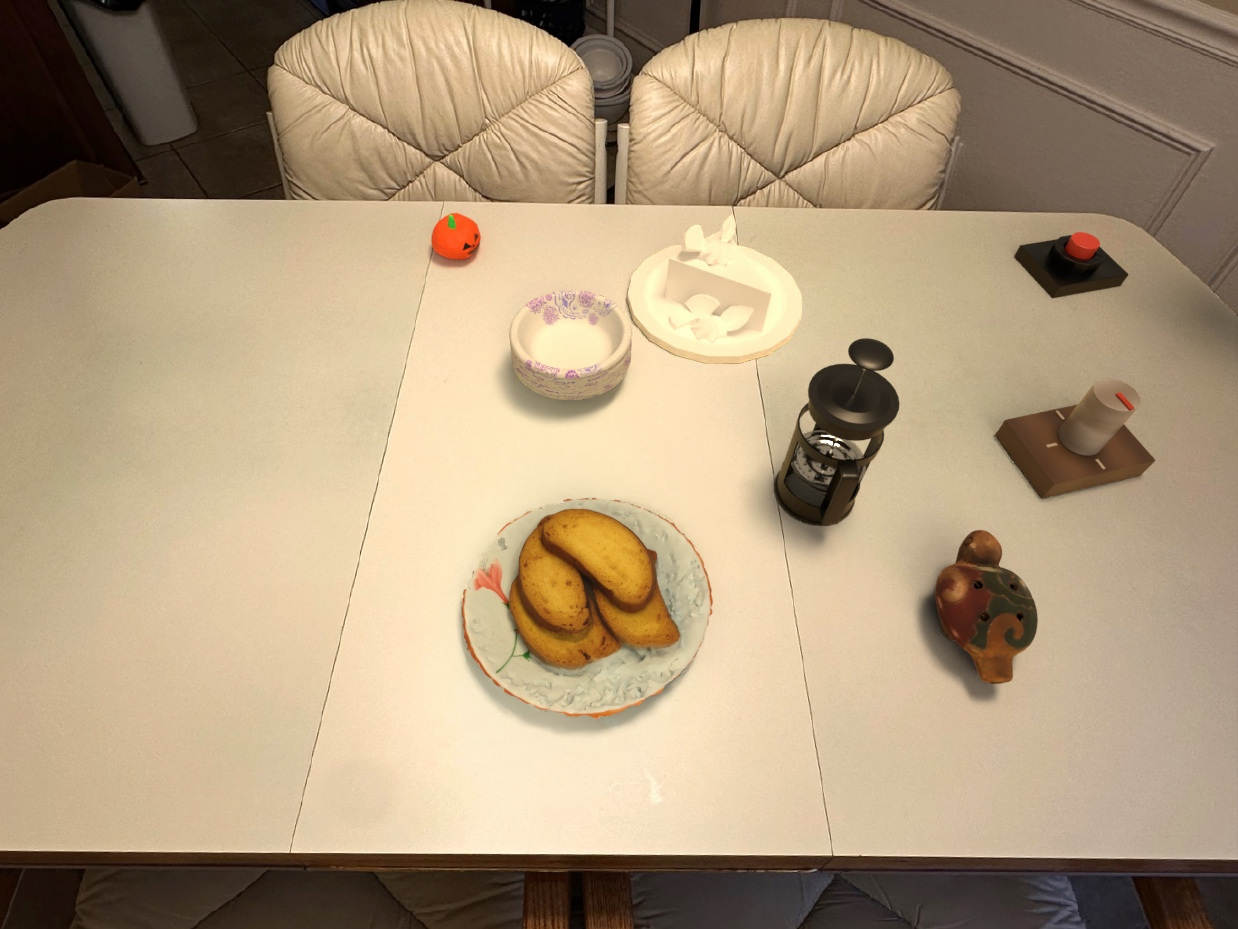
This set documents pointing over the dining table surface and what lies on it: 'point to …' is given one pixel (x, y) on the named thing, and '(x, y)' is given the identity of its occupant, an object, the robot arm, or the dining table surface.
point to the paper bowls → (571, 344)
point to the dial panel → (1068, 454)
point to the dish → (714, 299)
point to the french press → (839, 433)
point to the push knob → (1082, 245)
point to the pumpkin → (455, 236)
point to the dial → (1098, 416)
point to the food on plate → (587, 607)
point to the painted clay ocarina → (986, 607)
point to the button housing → (1068, 268)
